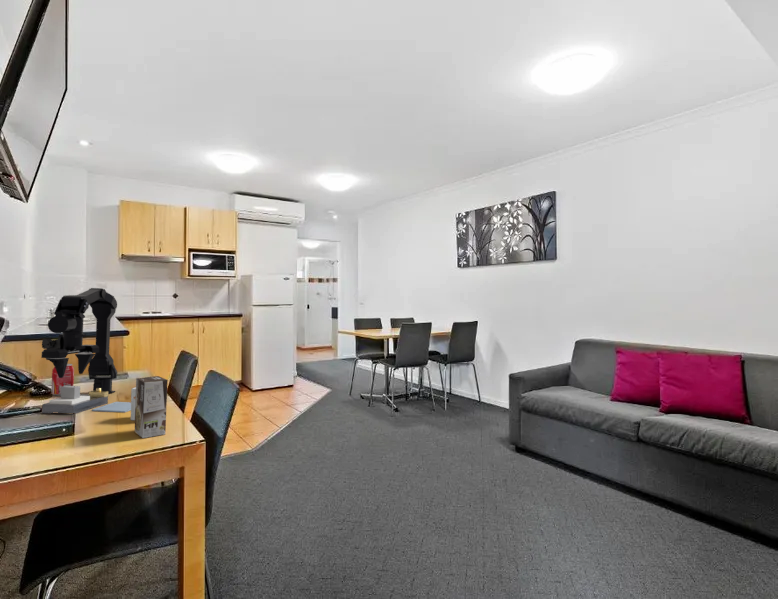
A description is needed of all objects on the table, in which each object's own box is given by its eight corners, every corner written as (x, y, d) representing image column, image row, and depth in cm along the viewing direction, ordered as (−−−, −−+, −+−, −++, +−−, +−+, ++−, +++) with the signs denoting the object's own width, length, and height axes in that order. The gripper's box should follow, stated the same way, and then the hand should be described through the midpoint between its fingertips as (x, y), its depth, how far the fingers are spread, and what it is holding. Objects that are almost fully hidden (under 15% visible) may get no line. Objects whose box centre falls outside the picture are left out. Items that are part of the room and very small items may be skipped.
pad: (115, 403, 157) (116, 401, 157) (146, 404, 156) (146, 403, 156) (91, 411, 145) (91, 409, 145) (124, 412, 144) (124, 411, 144)
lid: (68, 398, 150) (69, 384, 150) (89, 399, 149) (90, 384, 149) (49, 403, 142) (49, 388, 142) (71, 404, 141) (72, 389, 141)
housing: (79, 402, 157) (80, 394, 157) (107, 403, 156) (108, 395, 156) (42, 413, 141) (42, 404, 141) (73, 414, 140) (73, 405, 140)
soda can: (61, 392, 172) (62, 363, 172) (77, 392, 172) (78, 363, 172) (46, 395, 165) (47, 365, 165) (63, 396, 165) (64, 366, 165)
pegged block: (92, 395, 155) (93, 387, 155) (108, 396, 155) (108, 388, 155) (88, 396, 153) (88, 388, 153) (104, 397, 153) (104, 389, 153)
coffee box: (166, 434, 122) (168, 379, 123) (141, 439, 118) (143, 382, 118) (157, 427, 129) (159, 375, 129) (133, 431, 124) (135, 377, 125)
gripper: (72, 329, 156) (70, 370, 155) (26, 332, 137) (24, 379, 137) (101, 330, 155) (99, 371, 155) (58, 333, 136) (56, 380, 136)
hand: (71, 375), depth 146 cm, fingers open, 8 cm apart
